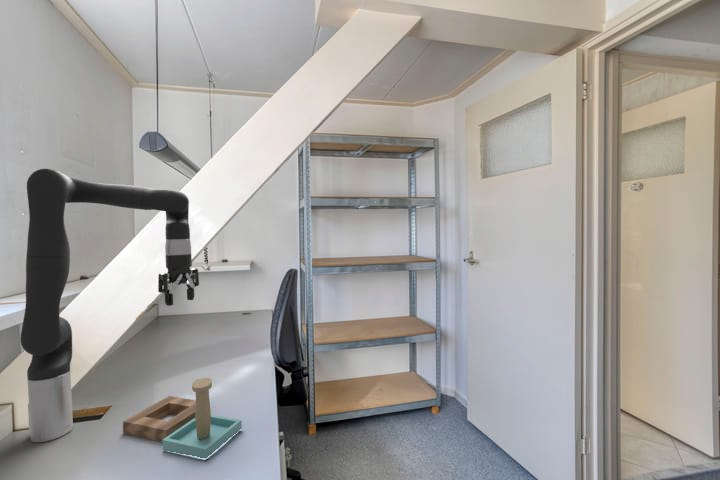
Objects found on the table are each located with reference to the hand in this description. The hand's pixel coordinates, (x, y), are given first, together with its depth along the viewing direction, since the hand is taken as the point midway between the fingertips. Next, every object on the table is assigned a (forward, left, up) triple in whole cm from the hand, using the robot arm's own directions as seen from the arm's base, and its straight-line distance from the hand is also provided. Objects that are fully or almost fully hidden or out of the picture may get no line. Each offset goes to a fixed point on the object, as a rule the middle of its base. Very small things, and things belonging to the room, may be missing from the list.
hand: (180, 302), depth 116 cm
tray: (+21, -14, -34) cm, 42 cm away
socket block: (+4, -10, -34) cm, 36 cm away
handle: (+21, -14, -33) cm, 42 cm away
